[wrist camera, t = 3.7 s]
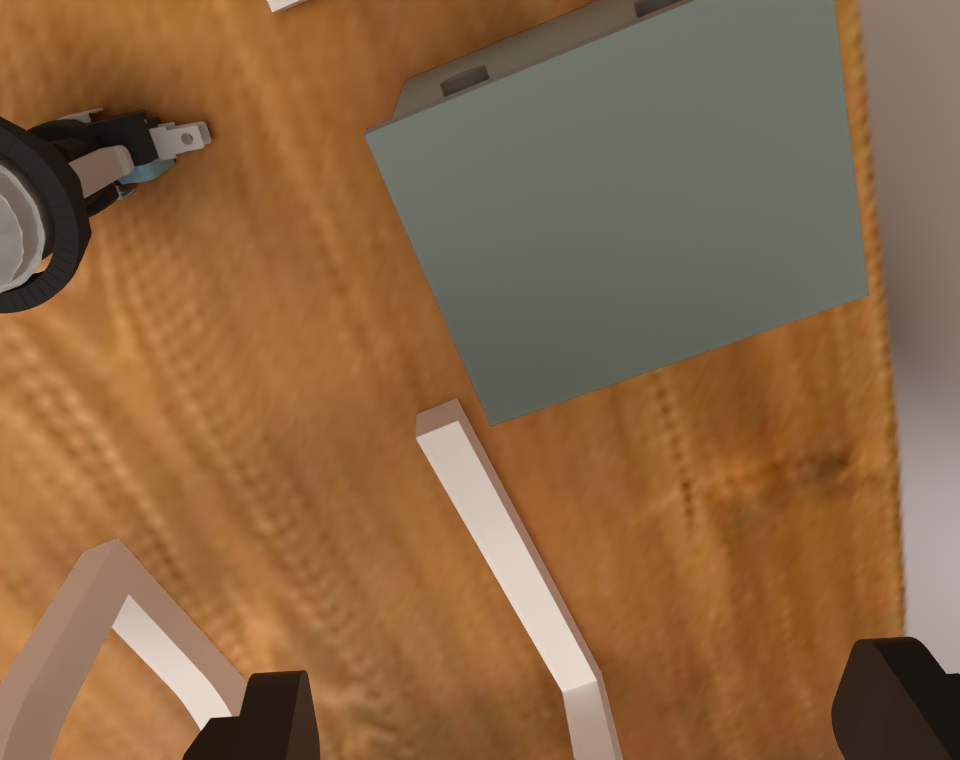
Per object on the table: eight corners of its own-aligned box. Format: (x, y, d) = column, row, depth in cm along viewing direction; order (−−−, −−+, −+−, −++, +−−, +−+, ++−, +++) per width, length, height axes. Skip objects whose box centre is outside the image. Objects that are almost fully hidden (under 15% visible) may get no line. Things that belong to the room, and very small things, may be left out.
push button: (187, 53, 25) (55, 84, 16) (237, 203, 28) (145, 299, 19) (3, 88, 25) (-224, 138, 17) (69, 234, 28) (-99, 344, 19)
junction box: (393, 75, 26) (364, 134, 15) (651, -32, 25) (827, -54, 14) (469, 263, 29) (490, 426, 18) (698, 177, 28) (869, 295, 17)
